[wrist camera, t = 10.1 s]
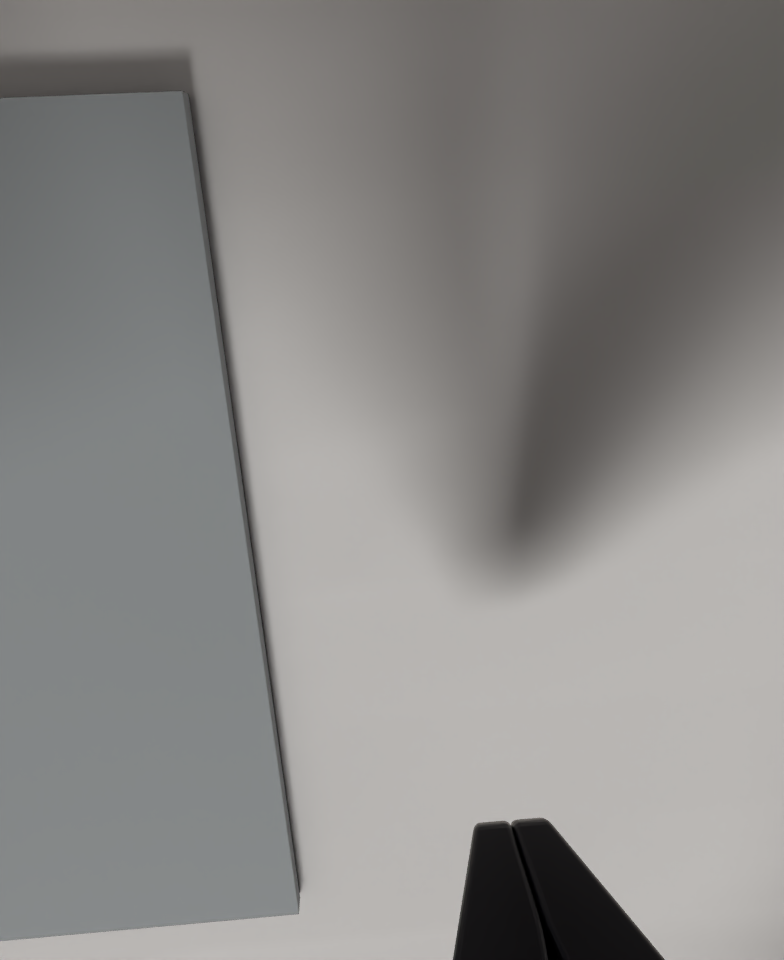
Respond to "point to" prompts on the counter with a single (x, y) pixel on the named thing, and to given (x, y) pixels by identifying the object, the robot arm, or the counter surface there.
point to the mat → (124, 543)
